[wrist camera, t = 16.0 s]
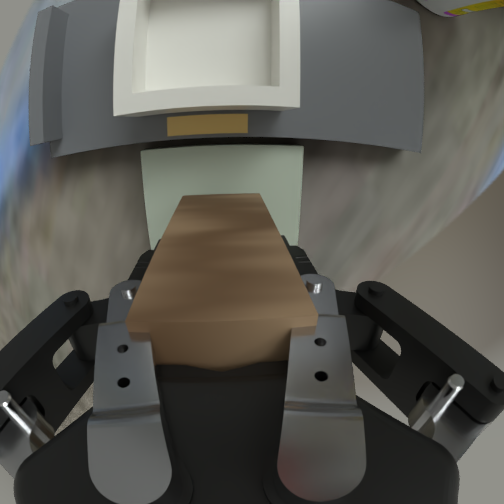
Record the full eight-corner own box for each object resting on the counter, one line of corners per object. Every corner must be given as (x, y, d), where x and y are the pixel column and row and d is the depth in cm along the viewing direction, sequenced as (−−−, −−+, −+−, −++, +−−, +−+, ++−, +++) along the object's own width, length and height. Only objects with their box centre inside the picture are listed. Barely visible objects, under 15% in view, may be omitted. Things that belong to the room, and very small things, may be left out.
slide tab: (281, -8, 10) (297, -38, 6) (281, 110, 13) (299, 107, 10) (144, -3, 9) (125, -30, 6) (138, 116, 12) (113, 116, 9)
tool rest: (299, 144, 16) (303, 146, 15) (290, 278, 20) (293, 285, 19) (145, 149, 15) (140, 150, 14) (160, 282, 19) (158, 290, 18)
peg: (259, 193, 15) (318, 314, 6) (258, 261, 16) (295, 414, 7) (183, 195, 14) (124, 321, 5) (188, 263, 16) (163, 420, 7)
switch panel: (402, 18, 12) (437, 5, 8) (403, 148, 16) (441, 158, 12) (71, 14, 10) (41, -2, 6) (67, 153, 14) (32, 164, 10)
